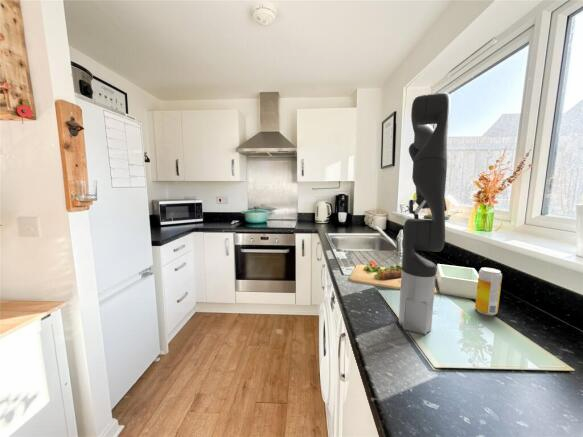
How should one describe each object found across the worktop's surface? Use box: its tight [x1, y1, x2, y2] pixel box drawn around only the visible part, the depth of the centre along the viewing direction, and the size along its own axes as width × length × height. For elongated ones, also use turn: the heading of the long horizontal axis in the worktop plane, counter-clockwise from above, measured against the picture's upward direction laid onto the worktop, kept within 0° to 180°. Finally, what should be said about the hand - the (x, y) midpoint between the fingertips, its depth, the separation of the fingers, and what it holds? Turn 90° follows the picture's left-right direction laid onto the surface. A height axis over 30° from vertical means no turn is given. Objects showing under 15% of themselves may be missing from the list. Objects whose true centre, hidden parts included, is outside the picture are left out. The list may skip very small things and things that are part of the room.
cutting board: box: [348, 260, 438, 295], centre depth 114 cm, size 35×23×8 cm
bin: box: [435, 263, 479, 300], centre depth 103 cm, size 18×14×7 cm
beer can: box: [474, 267, 503, 316], centre depth 83 cm, size 6×6×15 cm
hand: (428, 222), depth 106 cm, fingers open, 8 cm apart
